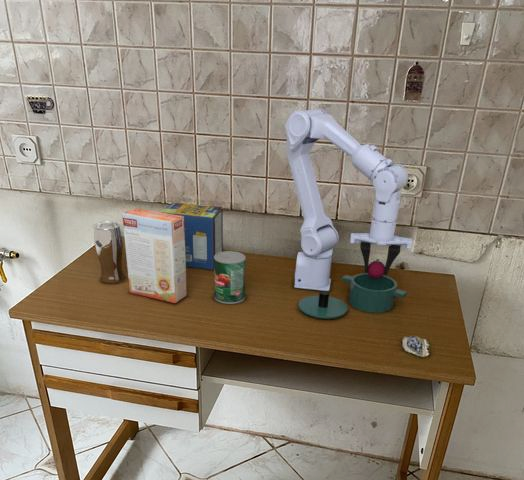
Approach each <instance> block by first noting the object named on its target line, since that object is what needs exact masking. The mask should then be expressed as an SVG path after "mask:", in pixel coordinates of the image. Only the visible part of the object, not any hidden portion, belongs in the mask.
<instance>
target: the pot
mask: <svg viewBox="0 0 524 480" xmlns="http://www.w3.org/2000/svg"><path fill="white" fill-rule="evenodd" d="M341 282H345V283H348V284H350V287H349V293H348V304H349V305H350V306H351V307H353V308H354V309H356V310H358V311H362V312H366V313H371V314H372V313H374V314H379V313H380V314H381V313H386V312H389V311H391V310H393V308H394V307H395V306H394V305H395V300H396V297H397V298H399V299H404V298H405V297H406V296H407V294H408V292H407V291H406V290H403V289H398V282H397V281H396V280H395V279H394V278H392V277H390V276H388V275H383V276H382V277H380V278H378V279H374V278H372V277H370V276H369V274H368V273H365V272H363V273H358V274H355V275H348V274H345V275H344V276H342V277H341Z"/></svg>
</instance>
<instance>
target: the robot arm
mask: <svg viewBox="0 0 524 480" xmlns="http://www.w3.org/2000/svg"><path fill="white" fill-rule="evenodd" d="M284 129H285V133H286V136H287V137H286V149H285V152H286V157H287V160H288V164H289V168H290V171H291V176H292V179H293V183H294V186H295V187H294V188H295V191H296V194H297V198H298V203H299V205H300V210H301V213H302V217H303V222H302V225H301V227H300V230H299V232H300V247H301V251H298V252H297V256H296V262H295V263H296V264H295V272H294V286H293V287H294V288H295V289H304V290H312V291H313V290H314V291H328V292H330V289H331V282H332V279H331V278H330V277H331V268H332V259H333V252H334V248H336V247H337V246H338V243H339V237H340V236H339V233H338V231H337V229H336V228H335V227H334V224H333V221H332V219H331V218H330V217H329V216H327V215H326V214H325V210H324V206H323V203H322V198H321V195H320V190H319V187H318V182H317V178H316V175H315V171H314V167H313V163H312V158H311V155H310V154H311V151H312V149H313V147H314V145H315V144H316V143H317V142H318V141H319V140H321V139H323V140H324V139H325V140H327V141H328V142H330V143H331V144H333V145H334V146H335V147H337V148H338V149H339V150H341V151H342V152H343V153H345V154H346V155H347V156H348V157H351V165H352V166H353V167H354V168H355V169H356V170H357V171H359V172H360V173H361V174H363V176H365V177H366V178H367V179H368V180H370V181H371V182H372V186H373V189H374V190H375V197H374V203H373V209H372V210H373V211H372V216H371V223H370V228H369V229H370V230H369V232H367V233H366V232H364V233H358V232H357V233H355V232H351V233H350V239H349V243H350V244H359V245H360V252H361V255H362V259H363V264H364V265H363V266H364V273H368V266H369V262H370V261H369V260H370V256H371V255H370V254H371V247H372V245H376V246H385V247H388V251H387V256H386V260H385V264H384V266H385V273H384V276H388V273H389V271H390V269H391V267H392V264H393V263H394V262H395V260H396V259H397V257H398V256H399V255H400V253H401V248H406V249H408V250H409V249H410V250H411V249H412V246H413V239H412V238H410V237H409V238H408V237H403V236H398V235H395V231H396V227H397V221H398V215H399V209H400V203H401V197H402V190H403V188H404V187H406V185H407V183H408V180H409V175H408V171H407V170H406V168H405V167H404V165H402V164H400V163H393V160H392V159H391V158H387V157H385V156H384V155H383V154H381V152H379V151H378V147H377V146H376V145H375V144H372V145H371V144H368V143H366V144H361V143H359V142H358V141H357V140H356V138H354V137H353V136H352V135H351V134H350V133H349V132H348V131H346V129H344V128H343V127H342V126H341V125H340V124H339V123H338V122H337V121H336V119H335V118H334V117H333V115H331V114H329V113H327V111H325V110H324V109H323V108H319V107H318V108H317V107H316V108H313V109H309V110H308V109H306V110H299V109H298V110H295V111H293V112H292V113H291V114H290V115H289V116H288V119H287V121H286V123H285V124H284Z"/></svg>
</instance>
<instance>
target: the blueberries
mask: <svg viewBox="0 0 524 480" xmlns="http://www.w3.org/2000/svg"><path fill="white" fill-rule="evenodd" d="M401 341H402V348H403V349H404V351H405V352H408V353H409V354H413V355H415V356H417V357H421V358H425V357H428V356H429V355H430V353H429V352H430V351H429V350H428V349H429V348H430V347H429V343H430V342H429V341H428V339H425V338H421V337H419V336H417V335H410V336H409V337H408V336H403V337H402V340H401Z"/></svg>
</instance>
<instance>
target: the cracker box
mask: <svg viewBox="0 0 524 480" xmlns="http://www.w3.org/2000/svg"><path fill="white" fill-rule="evenodd" d="M121 215H122V216H121V217H122V226H123V227H122V228H123V235H124V236H123V237H124V248H125V257H126V267H127V276H128V286H129V287H128V288H129V293H130V294H134V295H139V296H142V297H146V298H151V299H155V300H158V301H163V302H168V303H171V304H178V302H180V301H181V300H183V299H185V298H186V297H187V296H188V288H187V287H188V286H187V285H188V284H187V267H186V258H185V233H184V216H179V215H173V214H167V213H161V211H155V210H149V209H144V208H138V207H135V208H132V209H129V210H128V211H124V212H122V213H121Z"/></svg>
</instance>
